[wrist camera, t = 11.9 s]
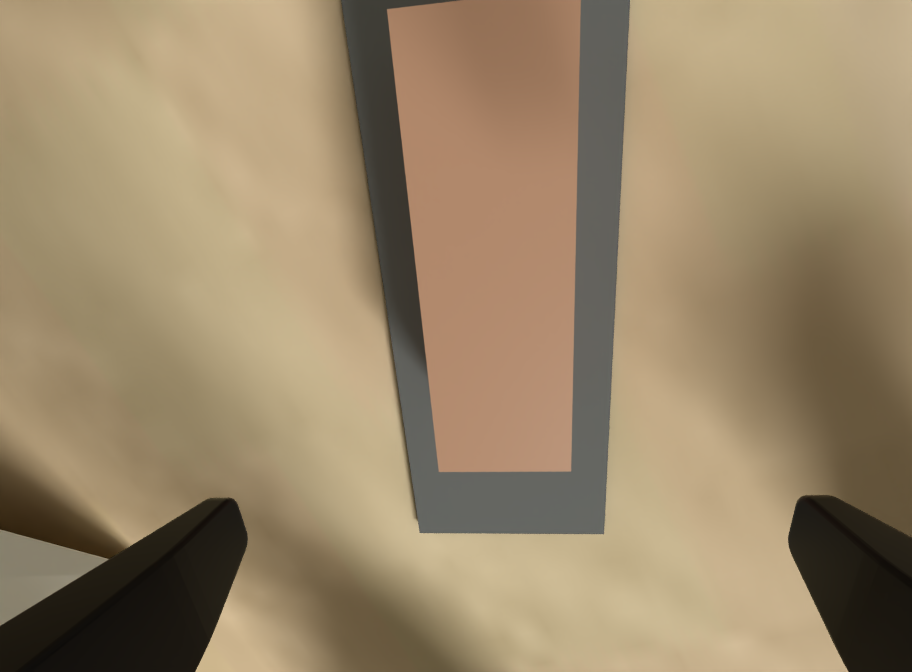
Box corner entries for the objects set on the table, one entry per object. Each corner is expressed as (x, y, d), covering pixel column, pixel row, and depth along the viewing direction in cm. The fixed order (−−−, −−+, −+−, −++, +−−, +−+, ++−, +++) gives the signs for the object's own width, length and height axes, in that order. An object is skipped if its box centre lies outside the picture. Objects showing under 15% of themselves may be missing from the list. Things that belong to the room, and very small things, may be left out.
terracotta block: (571, 471, 14) (581, -14, 9) (438, 472, 14) (387, 8, 10) (556, 402, 17) (558, 31, 13) (451, 404, 18) (418, 47, 13)
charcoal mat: (602, 526, 20) (604, 534, 20) (421, 526, 21) (419, 532, 20) (628, -38, 12) (632, -43, 12) (344, 0, 13) (340, -5, 13)
